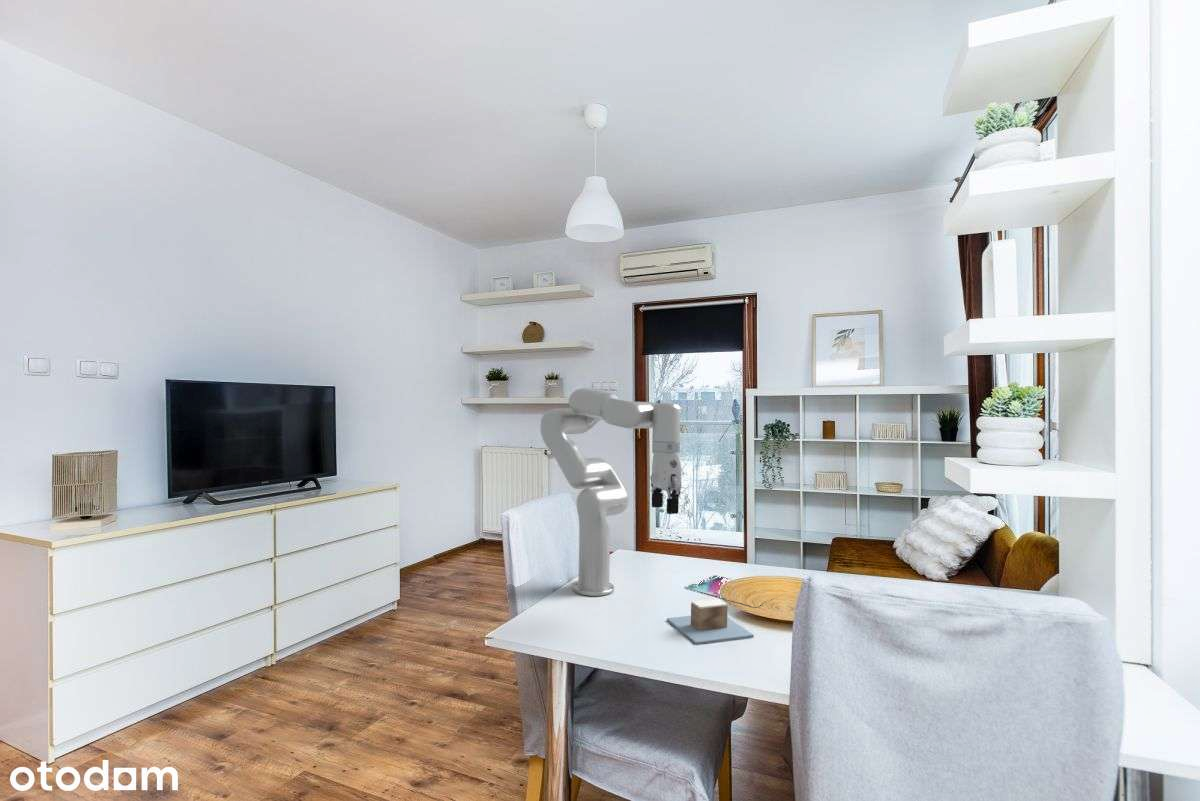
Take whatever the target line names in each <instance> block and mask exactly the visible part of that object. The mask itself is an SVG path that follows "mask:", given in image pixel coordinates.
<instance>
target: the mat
mask: <svg viewBox="0 0 1200 801" xmlns="http://www.w3.org/2000/svg"><path fill="white" fill-rule="evenodd" d="M666 620H667V622H668V623H670V624H671V625H672V626H673V627H674V628H676V630H678V631H679V632H680V633H682V635H684V637H686V638H687V639H689V640H690V641H691V642H692V643H694V645H696V646H697V645H704V644H705V645H706V644H713V643H719V642H727V641H728V642H729V641H736V640H743V639H751V637H752V638H754V637H755V636H754V635H755V634H753V633H752V632H750V631H749V630H747V629H746V628H745V627H743V626H741V625H740V624H738V623H737V622H735V621H734V620H732V619H731V618H729V617H728V616H727V628H721V629H713V630H705V631H698V630H697V629H696V628H695V627H693V626H692V625H691V615H686V616H683V615H682V616H675V617H667V618H666Z"/></svg>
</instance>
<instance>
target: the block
mask: <svg viewBox="0 0 1200 801" xmlns="http://www.w3.org/2000/svg"><path fill="white" fill-rule="evenodd" d="M728 606H729V605H728V604H727V603H726V602H724V601H723V600H722V599H721V598H712V599H702V600H701V599H700V600H693V601H691V603H690V616H691V625H692V626H693V627H695V628H696V629H697V630H698V631H705V630H713V629H721V628H727V617H728Z"/></svg>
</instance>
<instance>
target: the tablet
mask: <svg viewBox="0 0 1200 801" xmlns="http://www.w3.org/2000/svg"><path fill="white" fill-rule="evenodd" d="M712 576H713V577H712ZM712 576H710V577H708V578H709V580H708V579H707V578H706V579H707V580H706V581H705V580H704V579H702V580H703V582H702V581H701V580H700V581H701V582H702V583H701V582H700V583H701V584H700V583H699V584H698V585H697V584H694V583H691V584H688V585H686V586H685V587H683V588H684V589H685V588H686V589H685V590H688V589H690V590H689V591H692V590H693V592H695V591H697V592H696V593H699V592H700V594H703V593H704V594H703V595H706V594H707V595H706V596H710V595H711V596H710V597H713V596H715V597H714V598H717V597H719V598H718V599H721V598H720V594H719V593H718V592H719V590H720V587H721V585H722V584H723V582H721V580H722V579H723V578H726V579H727V580H728V579H730V580H731V579H732V578H729V577H725V576H721V578H719V577H720V575H712ZM717 576H719V577H717ZM711 577H712V578H711ZM716 577H717V578H716ZM726 582H727V581H725V583H726ZM719 583H720V585H719ZM694 585H695V586H694ZM696 585H697V586H698V587H697V586H696ZM687 586H688V587H687Z"/></svg>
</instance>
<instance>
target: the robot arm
mask: <svg viewBox="0 0 1200 801" xmlns="http://www.w3.org/2000/svg"><path fill="white" fill-rule="evenodd" d="M568 405H569V407H570V408H567V407H566V408H563V407H562V408H561V407H560V408H552V409H549V410H547V411H546V412H545V413H543V415H542V417H541V419H540V429H539V430H540V435H541V439H542V440H543V442H544V445H545V446H546V447H547V449H548V450H549V452H550V453H551V455H553V457H554V459H555V461H556V463H557V465H558V466H559V468H560V470H561V471H562V474H563V475H564V477H565V479H566V481H567V482H568V484H569V485H570V487H571V488H572V489H576V490H581V491H580V492H579V493H578V495H577V497H576V511H577V516H578V526H579V527H578V529H579V530H578V578H577V579H578V580H577V582H575V583H573V586H572V589H573V590H572V591H573V592H575V593H576V594H580V595H583V596H589V597H590V596H591V597H599V596H600V597H601V596H607V595H610V594H612V593H614V591H615V585H614V584H613V583H611V582H610V567H611V566H610V562H611V560H610V559H611V558H610V557H611V555H610V554H611V531H610V526H609V523H608V522H607V519H606V517H608V516H609V517H610V516H614V515H619V514H622V513H624V512H625V511H626V510H627V508H628V505H629V495H628V493H627V489H626V488H625V487H624V485H623V483H622V482H621V480H620V478H619V477H618V475H617V473H616V472H615V470H614V469H613V466H612V465H611V464H610V463H609V462H608V461H607V460H606V459H604V458H601V457H587V456H585V455H584V453H583V451H582V450H581V448H580V446H579V445H578V444H577V442H576V441H574V440H573V439H571V438H570V437H569V436H568V435H576V434H577V435H580V434H581V435H582V434H584V433H587V432H589V431H590V430H591V429H593V428H594V427H595V425H597V424H598V423H599V422H600V421H604V422H605V423H606V424H609V425H611V426H615V427H619V428H624V429H631V430H632V429H652V434H651V435H652V436H651V437H652V438H651V439H652V440H651V441H652V442H651V443H652V444H651V450H652V451H651V453H652V462H651V475H650V482H651V483H650V486H651V490H650V491H651V507H652V508H663V506H664V503H663V502H664V499H663V498H664V493H663V491H664V492H666V494H667V498H666V514H668V515H677V514H678V513H679V503H680V502H679V499H680V494H681V490H682V463H681V456H680V448H681V447H680V446H681V445H680V444H681V442H680V440H681V407H680V405H679V404H677V403H673V402H671V403H669V402H653V401H627V400H622V399H619V398H618V396H617V395H616V394H614V393H611V392H608V391H606V390H605V389H602V388H586V387H585V388H584V387H583V388H577V389H576V390H574V391H573V392H571V394H570V395H569V398H568Z"/></svg>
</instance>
